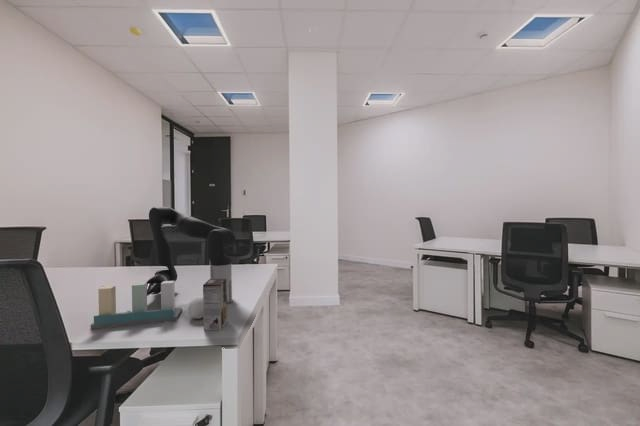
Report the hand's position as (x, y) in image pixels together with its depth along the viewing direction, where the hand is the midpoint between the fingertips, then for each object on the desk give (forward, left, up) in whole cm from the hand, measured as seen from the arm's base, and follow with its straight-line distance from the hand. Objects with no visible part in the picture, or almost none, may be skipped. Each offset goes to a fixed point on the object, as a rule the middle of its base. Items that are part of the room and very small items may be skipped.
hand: (145, 293), depth 125 cm
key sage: (0, +7, -6) cm, 10 cm away
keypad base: (0, +7, -8) cm, 11 cm away
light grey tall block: (-10, +7, -6) cm, 14 cm away
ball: (-22, +12, -8) cm, 27 cm away
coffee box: (-29, +22, -8) cm, 37 cm away
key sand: (+10, +10, -6) cm, 15 cm away
